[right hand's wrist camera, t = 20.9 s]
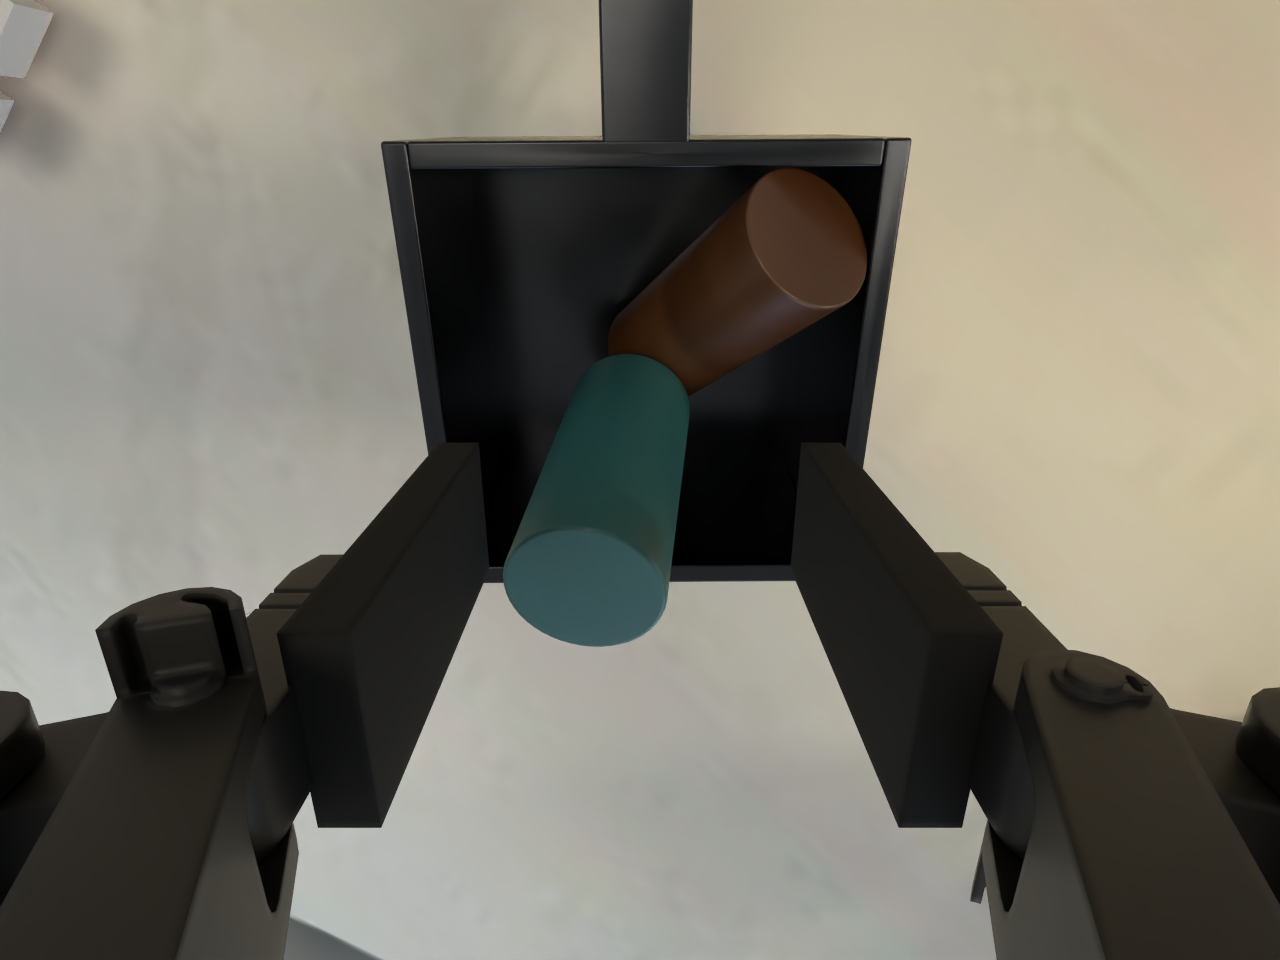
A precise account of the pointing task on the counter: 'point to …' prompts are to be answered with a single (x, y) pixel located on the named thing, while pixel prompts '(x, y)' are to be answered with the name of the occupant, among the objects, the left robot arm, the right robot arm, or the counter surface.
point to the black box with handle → (629, 294)
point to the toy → (19, 41)
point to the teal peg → (604, 508)
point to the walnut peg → (748, 280)
